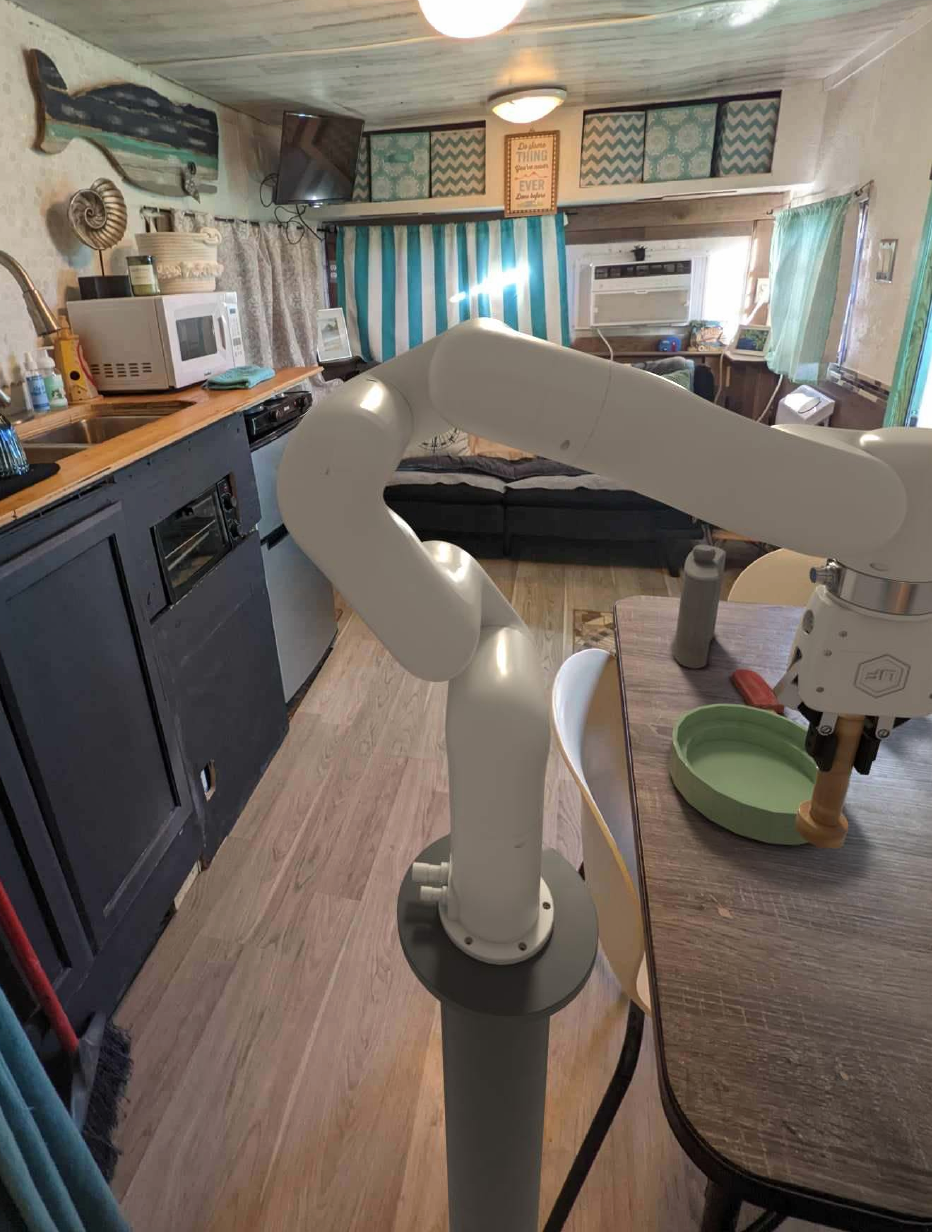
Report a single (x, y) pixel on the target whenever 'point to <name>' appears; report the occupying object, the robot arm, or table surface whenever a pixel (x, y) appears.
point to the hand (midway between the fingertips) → (837, 761)
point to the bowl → (744, 769)
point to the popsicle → (756, 691)
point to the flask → (698, 605)
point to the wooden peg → (832, 789)
